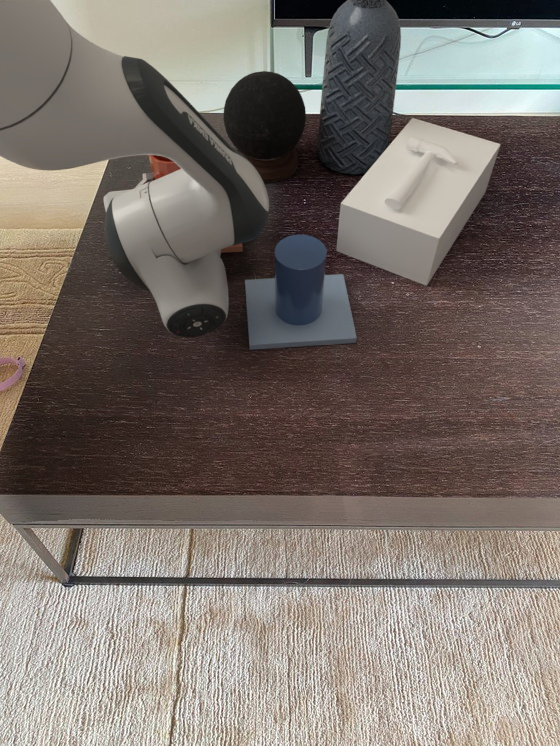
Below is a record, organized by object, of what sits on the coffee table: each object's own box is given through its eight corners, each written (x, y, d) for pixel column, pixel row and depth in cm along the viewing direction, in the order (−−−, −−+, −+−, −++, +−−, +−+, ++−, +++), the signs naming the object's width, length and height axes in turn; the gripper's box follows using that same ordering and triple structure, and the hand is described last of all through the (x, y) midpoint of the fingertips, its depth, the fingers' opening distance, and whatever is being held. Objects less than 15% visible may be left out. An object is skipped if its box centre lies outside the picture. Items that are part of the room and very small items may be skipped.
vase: (390, 176, 103) (420, -9, 81) (317, 176, 103) (327, -10, 81) (383, 135, 111) (410, -45, 88) (315, 135, 111) (324, -46, 88)
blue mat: (249, 349, 81) (249, 345, 80) (245, 284, 88) (244, 279, 87) (356, 343, 81) (356, 338, 81) (342, 279, 89) (343, 273, 88)
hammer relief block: (485, 191, 101) (504, 130, 92) (426, 285, 88) (442, 224, 79) (403, 165, 105) (414, 104, 97) (336, 251, 92) (342, 189, 84)
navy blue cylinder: (277, 326, 82) (276, 271, 74) (273, 292, 86) (272, 235, 78) (325, 323, 82) (330, 268, 74) (319, 289, 86) (323, 232, 78)
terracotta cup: (159, 223, 91) (147, 164, 84) (160, 196, 95) (149, 137, 87) (202, 221, 92) (194, 161, 84) (202, 194, 96) (194, 135, 88)
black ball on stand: (219, 147, 108) (211, 61, 96) (291, 135, 111) (292, 50, 99) (237, 192, 101) (231, 105, 89) (314, 178, 103) (318, 91, 91)
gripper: (261, 206, 80) (245, 146, 88) (101, 226, 78) (99, 162, 86) (262, 244, 85) (247, 184, 93) (112, 263, 83) (109, 200, 91)
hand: (175, 173), depth 90 cm, fingers closed on terracotta cup, 6 cm apart
